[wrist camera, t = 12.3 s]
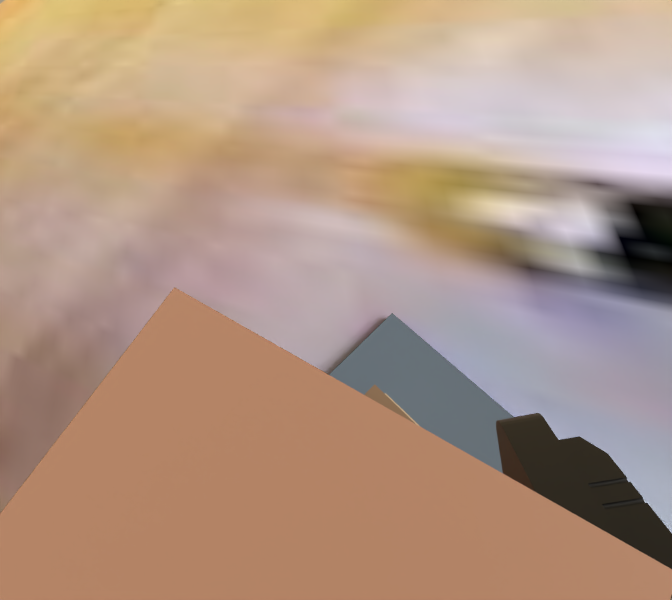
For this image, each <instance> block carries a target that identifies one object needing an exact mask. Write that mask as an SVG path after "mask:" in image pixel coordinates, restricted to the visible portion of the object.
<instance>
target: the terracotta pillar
mask: <svg viewBox="0 0 672 600" xmlns="http://www.w3.org/2000/svg"><path fill="white" fill-rule="evenodd" d="M671 595H672V569H670V568H669V567H667V566H665V565H663V564H662V563H660V562H658V561H656V560H655V559H653V558H651V557H649V556H648V555H646V554H644V553H642V552H640V551H639V550H637V549H635V548H633V547H632V546H630V545H628V544H626V543H625V542H623V541H621V540H619V539H618V538H616V537H614V536H612V535H610V534H609V533H607V532H605V531H603V530H602V529H600V528H598V527H596V526H595V525H593V524H591V523H589V522H588V521H586V520H584V519H582V518H580V517H579V516H577V515H575V514H573V513H572V512H570V511H568V510H566V509H565V508H563V507H561V506H559V505H558V504H556V503H554V502H552V501H550V500H549V499H547V498H545V497H543V496H542V495H540V494H538V493H536V492H535V491H533V490H531V489H529V488H528V487H526V486H524V485H522V484H520V483H519V482H517V481H515V480H513V479H512V478H510V477H508V476H506V475H505V474H503V473H501V472H499V471H498V470H496V469H494V468H492V467H490V466H489V465H487V464H485V463H483V462H482V461H480V460H478V459H476V458H475V457H473V456H471V455H469V454H468V453H466V452H464V451H462V450H461V449H459V448H457V447H455V446H453V445H452V444H450V443H448V442H446V441H445V440H443V439H441V438H439V437H438V436H436V435H434V434H432V433H431V432H429V431H427V430H425V429H423V428H422V427H420V426H418V425H416V424H415V423H413V422H411V421H409V420H408V419H406V418H404V417H402V416H401V415H399V414H397V413H395V412H393V411H392V410H390V409H388V408H386V407H385V406H383V405H381V404H379V403H378V402H376V401H374V400H372V399H371V398H369V397H367V396H365V395H363V394H362V393H360V392H358V391H356V390H355V389H353V388H351V387H349V386H348V385H346V384H344V383H342V382H341V381H339V380H337V379H335V378H333V377H332V376H330V375H328V374H326V373H325V372H323V371H321V370H319V369H318V368H316V367H314V366H312V365H311V364H309V363H307V362H305V361H303V360H302V359H300V358H298V357H296V356H295V355H293V354H291V353H289V352H288V351H286V350H284V349H282V348H281V347H279V346H277V345H275V344H273V343H272V342H270V341H268V340H266V339H265V338H263V337H261V336H259V335H258V334H256V333H254V332H252V331H251V330H249V329H247V328H245V327H243V326H242V325H240V324H238V323H236V322H235V321H233V320H231V319H229V318H228V317H226V316H224V315H222V314H221V313H219V312H217V311H215V310H214V309H212V308H210V307H208V306H206V305H205V304H203V303H201V302H199V301H198V300H196V299H194V298H192V297H191V296H189V295H187V294H185V293H184V292H182V291H180V290H178V289H176V288H175V287H174V289H173V290H172V291H171V293H170V294H169V295H168V296H167V298H166V299H165V300H164V302H163V303H162V304H161V305H160V307H159V308H158V309H157V311H156V312H155V313H154V315H153V316H152V317H151V318H150V320H149V321H148V322H147V324H146V325H145V326H144V328H143V329H142V330H141V331H140V333H139V334H138V335H137V337H136V338H135V339H134V341H133V342H132V343H131V344H130V346H129V347H128V348H127V350H126V351H125V352H124V354H123V355H122V356H121V357H120V359H119V360H118V361H117V363H116V364H115V365H114V367H113V368H112V369H111V370H110V372H109V373H108V374H107V376H106V377H105V378H104V380H103V381H102V382H101V383H100V385H99V386H98V387H97V389H96V390H95V391H94V392H93V394H92V395H91V396H90V398H89V399H88V400H87V402H86V403H85V404H84V405H83V407H82V408H81V409H80V411H79V412H78V413H77V415H76V416H75V417H74V418H73V420H72V421H71V422H70V424H69V425H68V426H67V428H66V429H65V430H64V431H63V433H62V434H61V435H60V437H59V438H58V439H57V441H56V442H55V443H54V444H53V446H52V447H51V448H50V450H49V451H48V452H47V454H46V455H45V456H44V457H43V459H42V460H41V461H40V463H39V464H38V465H37V466H36V468H35V469H34V470H33V472H32V473H31V474H30V476H29V477H28V478H27V479H26V481H25V482H24V483H23V485H22V486H21V487H20V489H19V490H18V491H17V492H16V494H15V495H14V496H13V498H12V499H11V500H10V502H9V503H8V504H7V505H6V507H5V508H4V509H3V511H2V512H1V513H0V600H670V598H671Z"/></svg>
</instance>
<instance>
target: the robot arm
mask: <svg viewBox="0 0 672 600" xmlns="http://www.w3.org/2000/svg"><path fill="white" fill-rule="evenodd" d="M496 431H497V438H498V445H499V451H500V458H501V464H502V471H503V474H505V475H506V476H508V477H510V478H512V479H513V480H515V481H517V482H519V483H520V484H522V485H524V486H526V487H528V488H529V489H531V490H533V491H535V492H536V493H538V494H540V495H542V496H543V497H545V498H547V499H549V500H550V501H552V502H554V503H556V504H558V505H559V506H561V507H563V508H565V509H566V510H568V511H570V512H572V513H573V514H575V515H577V516H579V517H580V518H582V519H584V520H586V521H588V522H589V523H591V524H593V525H595V526H596V527H598V528H600V529H602V530H603V531H605V532H607V533H609V534H610V535H612V536H614V537H616V538H618V539H619V540H621V541H623V542H625V543H626V544H628V545H630V546H632V547H633V548H635V549H637V550H639V551H640V552H642V553H644V554H646V555H648V556H649V557H651V558H653V559H655V560H656V561H658V562H660V563H662V564H663V565H665V566H667V567H669V568H670V569H672V533H671V532H670V531H669V530H668V528H667V527H666V526H665V525H664V523H663V522H662V521H661V520H660V518H659V517H658V516H657V515H656V513H655V512H654V511H653V510H652V508H651V507H650V506H649V505H648V503H645V502H644V500H643V497H642V496H641V495H640V494H639V492H638V491H637V490H636V489H635V487H634V486H633V485H632V484H631V482H628V481H627V478H626V476H625V475H624V474H623V472H622V471H621V470H620V469H619V467H618V466H617V465H616V464H615V462H614V461H613V460H612V459H611V457H610V456H609V455H608V454H607V453H606V452H604V451H602V450H601V449H599V448H597V447H596V446H594V445H593V444H591V443H589V442H588V441H586V440H584V439H583V438H581V437H574V438H568V439H562V440H558V439H557V437H556V436H555V434H554V433H553V431H552V430H551V428H550V427H549V425H548V424H547V422H546V421H545V419H544V418H543V417H542V415H541V414H539V413H535V414H530V415H524V416H519V417H513V418H508V419H502V420H497V421H496ZM670 600H672V595H671V598H670Z"/></svg>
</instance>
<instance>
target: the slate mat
mask: <svg viewBox="0 0 672 600" xmlns="http://www.w3.org/2000/svg"><path fill="white" fill-rule="evenodd" d="M329 375H330V376H332V377H333V378H335V379H337V380H339V381H341V382H342V383H344V384H346V385H348V386H349V387H351V388H353V389H355V390H356V391H358V392H360V393H362V394H363V395H364V394H365V393H366V392H367V391H368V390H369V389H370V388H371V387H372V386H373V385H374V384H375V385H376V386H377V387H378V388H379V389H380V390H381V391H382V392H383V393H384V394H385V393H386V394H387V395H388V396H389V397H390V398H391V399H392V400H393V401H394V402H395V403H396V404H398V405H399V406H400V407H401V408H402V409H403V410H404V411H405V412H406V413H407V414H408V415H409V416H410V417H411V418H412V419H413V420H414V421H415V422H416V423H417V424H418V425H419V426H420V427H422V428H423V429H425V430H427V431H429V432H431V433H432V434H434V435H436V436H438V437H439V438H441V439H443V440H445V441H446V442H448V443H450V444H452V445H453V446H455V447H457V448H459V449H461V450H462V451H464V452H466V453H468V454H469V455H471V456H473V457H475V458H476V459H478V460H480V461H482V462H483V463H485V464H487V465H489V466H490V467H492V468H494V469H496V470H498V471H499V472H501V473H503V471H502V464H501V458H500V451H499V445H498V438H497V431H496V421H497V420H502V419H508V418H513V416H512V415H511V414H509V413H508V412H507V411H506V410H505V409H504V408H502V407H501V406H500V405H499V404H498V403H497V402H495V401H494V400H493V399H492V398H491V397H490V396H488V395H487V394H486V393H485V392H484V391H483V390H481V389H480V388H479V387H478V386H477V385H476V384H474V383H473V382H472V381H471V380H470V379H468V378H467V377H466V376H465V375H464V374H463V373H461V372H460V371H459V370H458V369H457V368H456V367H454V366H453V365H452V364H451V363H450V362H449V361H447V360H446V359H445V358H444V357H443V356H442V355H440V354H439V353H438V352H437V351H436V350H435V349H433V348H432V347H431V346H430V345H429V344H428V343H426V342H425V341H424V340H423V339H422V338H421V337H419V336H418V335H417V334H416V333H415V332H414V331H412V330H411V329H410V328H409V327H408V326H407V325H405V324H404V323H403V322H402V321H401V320H400V319H398V318H397V317H396V316H395V315H394V314H393V313H392V314H391V315H390V316H389V317H388V318H387V319H386V320H385V321H384V322H383V323H382V324H381V325H380V326H379V327H378V328H377V329H375V330H374V331H373V332H372V333H371V334H370V335H369V336H368V337H367V338H366V339H365V340H364V341H363V342H362V343H361V344H360V345H359V346H358V347H357V348H356V349H355V350H354V351H353V352H352V353H351V354H350V355H349V356H348V357H347V358H346V359H345V360H344V361H343V362H342V363H341V364H340V365H339V366H338V367H336V368H335V369H334V370H333V371H332V372H331V373H330V374H329Z"/></svg>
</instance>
